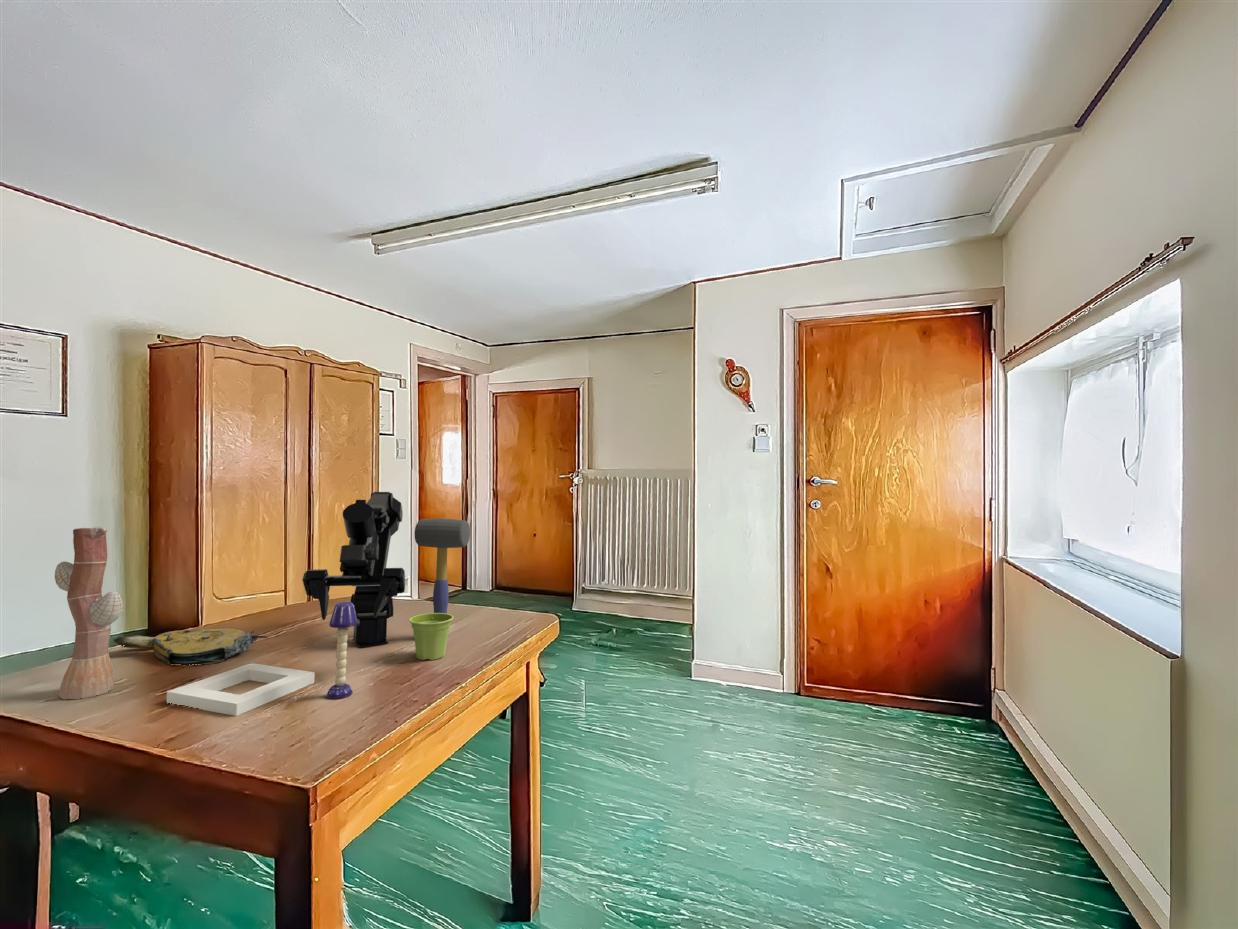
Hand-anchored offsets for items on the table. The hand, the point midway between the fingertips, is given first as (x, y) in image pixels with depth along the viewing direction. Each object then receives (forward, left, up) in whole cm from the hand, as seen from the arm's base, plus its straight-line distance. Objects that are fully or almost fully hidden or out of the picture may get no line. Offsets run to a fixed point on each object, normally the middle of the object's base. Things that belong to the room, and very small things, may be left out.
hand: (349, 617), depth 108 cm
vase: (+39, -23, -13) cm, 47 cm away
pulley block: (+25, -39, -13) cm, 48 cm away
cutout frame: (+16, -6, -13) cm, 21 cm away
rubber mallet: (-26, -20, -13) cm, 35 cm away
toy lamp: (+2, +5, -13) cm, 14 cm away
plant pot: (-19, -7, -13) cm, 24 cm away
